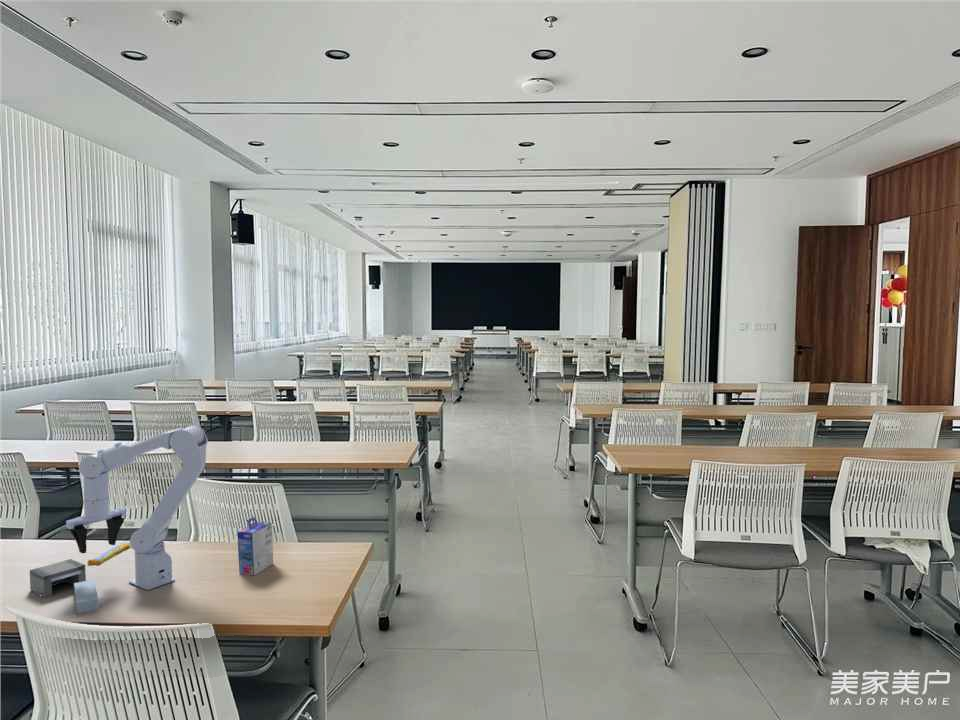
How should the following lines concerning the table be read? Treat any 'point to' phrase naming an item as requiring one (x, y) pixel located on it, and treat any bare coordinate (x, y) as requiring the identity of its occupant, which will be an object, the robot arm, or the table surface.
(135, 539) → the robot arm
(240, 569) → the ink cartridge box
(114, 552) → the candy bar
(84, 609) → the pale blue rectangular block
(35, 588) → the gray block
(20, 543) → the table surface
